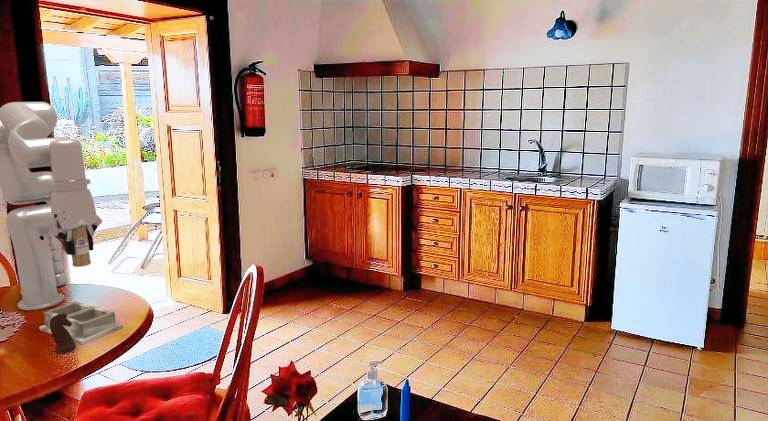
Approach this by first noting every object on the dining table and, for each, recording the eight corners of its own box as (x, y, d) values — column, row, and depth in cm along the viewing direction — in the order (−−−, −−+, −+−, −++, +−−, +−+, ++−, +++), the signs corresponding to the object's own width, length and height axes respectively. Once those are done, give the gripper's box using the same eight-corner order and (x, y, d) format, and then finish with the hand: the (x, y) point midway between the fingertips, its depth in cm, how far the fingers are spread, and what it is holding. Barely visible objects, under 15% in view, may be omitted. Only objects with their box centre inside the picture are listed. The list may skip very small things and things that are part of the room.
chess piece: (75, 351, 140) (70, 315, 138) (52, 355, 138) (47, 319, 136) (76, 344, 144) (71, 309, 142) (54, 348, 142) (49, 312, 140)
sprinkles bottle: (79, 268, 145) (72, 219, 142) (68, 266, 147) (62, 217, 145) (95, 263, 149) (89, 216, 146) (84, 261, 151) (78, 214, 149)
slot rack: (39, 330, 154) (37, 313, 153) (80, 315, 164) (78, 299, 163) (82, 344, 144) (79, 327, 143) (122, 327, 154) (120, 311, 153)
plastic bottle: (58, 289, 186) (50, 233, 182) (41, 288, 188) (32, 232, 184) (72, 283, 193) (64, 229, 188) (56, 282, 194) (48, 228, 190)
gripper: (92, 180, 153) (100, 243, 156) (29, 190, 138) (40, 258, 142) (108, 182, 149) (116, 246, 153) (46, 192, 135) (57, 262, 138)
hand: (80, 251), depth 147 cm, fingers closed on sprinkles bottle, 4 cm apart
